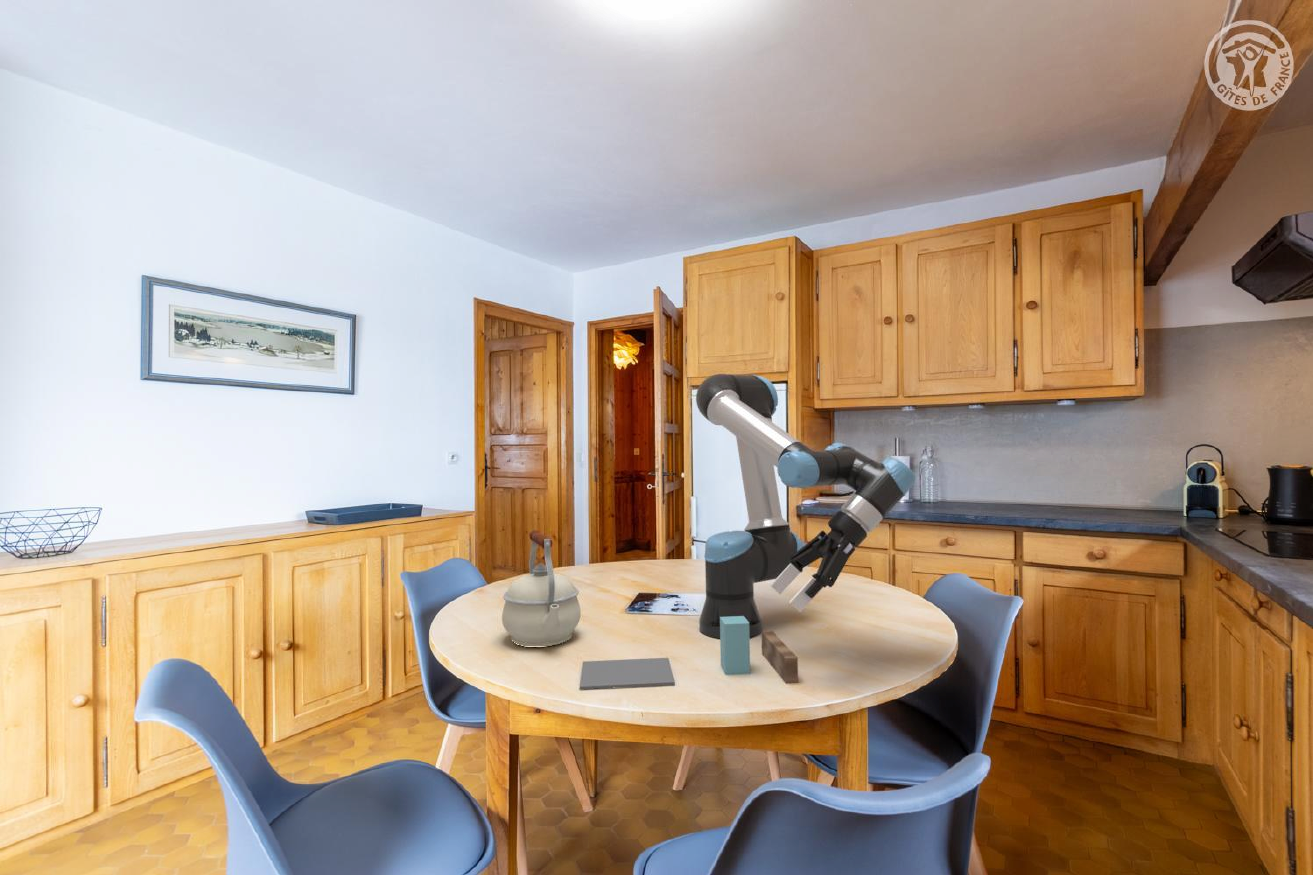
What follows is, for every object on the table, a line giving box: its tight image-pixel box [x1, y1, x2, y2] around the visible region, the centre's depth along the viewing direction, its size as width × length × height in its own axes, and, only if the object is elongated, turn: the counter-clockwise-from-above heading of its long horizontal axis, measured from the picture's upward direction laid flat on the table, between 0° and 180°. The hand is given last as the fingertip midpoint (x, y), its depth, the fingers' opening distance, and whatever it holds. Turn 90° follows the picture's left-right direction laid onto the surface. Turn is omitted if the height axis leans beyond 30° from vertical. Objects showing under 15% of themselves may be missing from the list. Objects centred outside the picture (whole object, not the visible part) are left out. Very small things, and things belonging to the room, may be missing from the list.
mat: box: [579, 657, 676, 690], centre depth 119 cm, size 13×18×1 cm
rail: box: [761, 630, 799, 684], centre depth 122 cm, size 16×2×5 cm, turn 6°
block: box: [719, 616, 751, 676], centre depth 121 cm, size 5×5×10 cm
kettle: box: [501, 530, 581, 647], centre depth 141 cm, size 25×18×25 cm
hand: (784, 598), depth 122 cm, fingers open, 13 cm apart
